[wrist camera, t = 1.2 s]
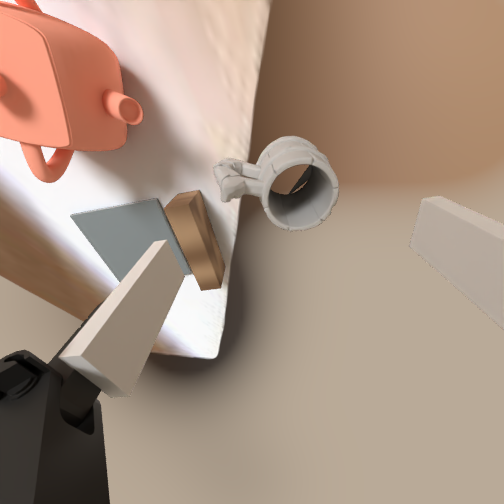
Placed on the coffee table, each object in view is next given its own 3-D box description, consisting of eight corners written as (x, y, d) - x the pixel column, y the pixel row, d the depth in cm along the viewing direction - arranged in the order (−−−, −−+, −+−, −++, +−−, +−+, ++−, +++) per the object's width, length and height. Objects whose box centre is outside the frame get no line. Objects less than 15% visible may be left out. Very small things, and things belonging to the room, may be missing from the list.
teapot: (81, -45, 16) (-106, -208, 8) (175, 116, 22) (125, 119, 14) (-15, 63, 20) (-208, 30, 12) (87, 175, 26) (6, 206, 18)
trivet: (73, 214, 29) (69, 215, 29) (156, 197, 27) (155, 199, 27) (122, 280, 36) (120, 283, 36) (191, 271, 35) (190, 273, 34)
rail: (177, 194, 27) (163, 208, 23) (199, 189, 27) (188, 204, 23) (208, 269, 34) (201, 290, 30) (225, 266, 34) (220, 288, 30)
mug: (307, 204, 27) (335, 257, 18) (219, 190, 27) (197, 236, 17) (328, 141, 23) (380, 163, 13) (224, 121, 22) (197, 130, 12)
